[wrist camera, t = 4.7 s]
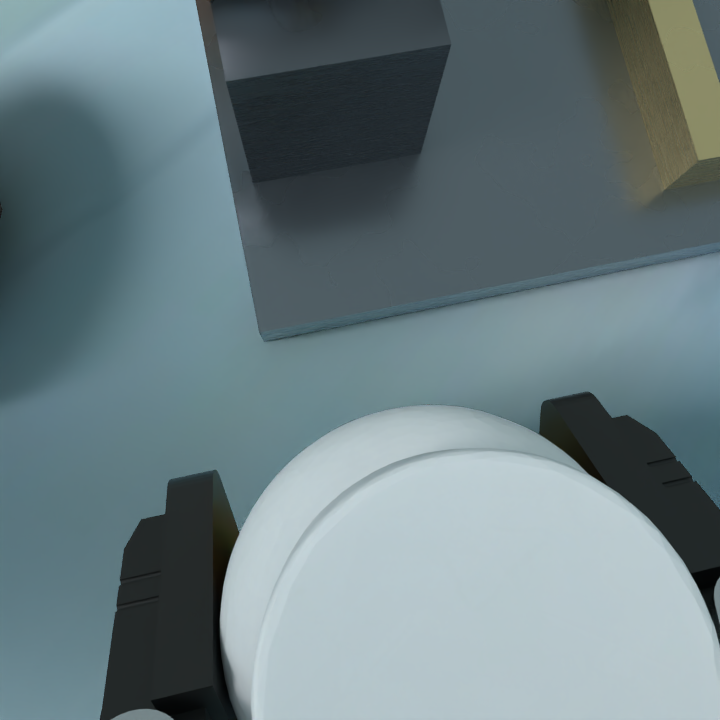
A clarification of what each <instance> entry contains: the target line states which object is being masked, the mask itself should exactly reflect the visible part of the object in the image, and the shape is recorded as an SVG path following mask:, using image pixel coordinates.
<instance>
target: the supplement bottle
mask: <svg viewBox="0 0 720 720" xmlns="http://www.w3.org/2000/svg"><path fill="white" fill-rule="evenodd" d="M220 648H221V658H222V665H223V671H224V677H225V682H226V686H227V690H228V694H229V698H230V701H231V704H232V706H233V709H234V712H235V714H236V717H237V720H720V645H719V641H718V637H717V633H716V630H715V626H714V624H713V621H712V619H711V616H710V614H709V611H708V609H707V606H706V604H705V601H704V599H703V597H702V595H701V593H700V591H699V589H698V587H697V585H696V583H695V581H694V579H693V578H692V576H691V574H690V572H689V570H688V569H687V567H686V565H685V563H684V562H683V560H682V559H681V558H680V556H679V555H678V554H677V552H676V551H675V550H674V548H673V547H672V546H671V545H670V543H669V542H668V541H667V539H666V538H665V537H664V535H663V534H662V533H661V532H660V531H659V530H658V528H657V527H656V526H655V525H654V524H653V523H652V522H651V521H650V520H649V519H648V518H647V517H646V516H645V515H644V514H643V513H642V512H641V511H640V510H638V509H637V508H636V507H635V506H634V505H632V504H631V503H630V502H629V501H628V500H626V499H625V498H624V497H623V496H621V495H620V494H619V493H618V492H616V491H614V490H613V489H611V488H610V487H608V486H607V485H605V484H603V483H602V482H600V481H599V480H597V479H595V478H594V477H592V476H591V475H589V474H588V473H587V472H586V471H585V470H584V469H583V468H582V467H581V466H580V465H579V464H578V463H577V462H576V461H575V460H573V459H572V458H571V457H570V456H569V455H567V454H566V453H565V452H564V451H563V450H561V449H560V448H558V447H557V446H556V445H554V444H553V443H551V442H550V441H548V440H547V439H545V438H544V437H542V436H541V435H539V434H537V433H536V432H534V431H532V430H530V429H528V428H526V427H524V426H522V425H519V424H517V423H515V422H512V421H510V420H507V419H504V418H501V417H499V416H496V415H493V414H490V413H487V412H484V411H480V410H475V409H471V408H466V407H460V406H449V405H414V406H406V407H399V408H393V409H387V410H383V411H380V412H376V413H372V414H369V415H366V416H363V417H360V418H358V419H355V420H353V421H351V422H348V423H346V424H344V425H342V426H340V427H338V428H336V429H334V430H332V431H330V432H329V433H327V434H326V435H324V436H322V437H321V438H320V439H318V440H317V441H315V442H314V443H312V444H311V445H309V446H308V447H306V448H305V449H304V450H303V451H302V452H300V453H299V454H298V455H297V456H295V457H294V458H293V459H292V460H291V461H290V462H289V463H288V464H287V465H286V466H285V467H284V468H283V469H282V470H281V471H280V472H279V473H278V474H277V475H276V476H275V478H274V479H273V480H272V481H271V482H270V484H269V485H268V486H267V487H266V489H265V490H264V492H263V493H262V495H261V496H260V497H259V499H258V500H257V502H256V503H255V505H254V506H253V508H252V510H251V512H250V513H249V515H248V517H247V519H246V521H245V523H244V525H243V527H242V529H241V531H240V533H239V536H238V538H237V541H236V543H235V546H234V548H233V551H232V554H231V557H230V560H229V564H228V568H227V572H226V576H225V580H224V585H223V593H222V601H221V612H220Z"/></svg>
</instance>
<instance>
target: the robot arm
mask: <svg viewBox="0 0 720 720" xmlns="http://www.w3.org/2000/svg"><path fill="white" fill-rule="evenodd" d="M539 435H541V436H542V437H544V438H545V439H547V440H548V441H550V442H551V443H553V444H554V445H556V446H557V447H558V448H560V449H561V450H563V451H564V452H565V453H566V454H567V455H569V456H570V457H571V458H572V459H573V460H575V461H576V462H577V463H578V464H579V465H580V466H581V467H582V468H583V469H584V470H585V471H586V472H587V473H588V474H589V475H591V476H592V477H594V478H595V479H597V480H599V481H600V482H602V483H603V484H605V485H607V486H608V487H610V488H611V489H613V490H614V491H616V492H618V493H619V494H620V495H621V496H623V497H624V498H625V499H626V500H628V501H629V502H630V503H631V504H632V505H634V506H635V507H636V508H637V509H638V510H640V511H641V512H642V513H643V514H644V515H645V516H646V517H647V518H648V519H649V520H650V521H651V522H652V523H653V524H654V525H655V526H656V527H657V528H658V530H659V531H660V532H661V533H662V534H663V535H664V537H665V538H666V539H667V541H668V542H669V543H670V545H671V546H672V547H673V548H674V550H675V551H676V552H677V554H678V555H679V556H680V558H681V559H682V560H683V562H684V563H685V565H686V567H687V569H688V570H689V572H690V574H691V576H692V578H693V579H694V581H695V583H696V585H697V587H698V589H699V591H700V593H701V595H702V597H703V599H704V601H705V604H706V606H707V609H708V611H709V614H710V616H711V619H712V621H713V624H714V626H715V630H716V633H717V637H718V641H719V645H720V509H719V508H718V507H717V506H716V505H715V503H714V502H713V501H712V500H711V499H710V497H709V496H708V495H707V494H706V493H705V491H704V490H703V489H702V488H701V487H700V485H699V484H698V483H697V482H696V481H693V480H692V476H691V475H690V473H689V472H688V471H687V470H686V469H685V467H684V466H683V465H682V464H681V463H680V461H678V462H677V461H676V458H675V455H674V454H673V453H672V452H671V451H670V449H669V448H668V447H667V446H666V445H665V443H664V442H663V441H662V440H661V438H660V437H659V436H658V435H657V434H656V433H655V432H654V431H652V430H650V429H649V428H647V427H645V426H644V425H642V424H641V423H639V422H637V421H636V420H634V419H633V418H631V417H629V416H628V415H625V416H620V417H616V418H611V416H610V415H609V414H608V413H607V411H606V410H605V409H604V407H603V406H602V405H601V403H600V402H599V401H598V400H597V398H596V397H595V396H594V395H593V394H592V393H590V392H583V393H578V394H573V395H569V396H564V397H559V398H555V399H550V400H546V401H544V402H543V403H542V406H541V414H540V432H539ZM238 536H239V531H238V528H237V525H236V522H235V519H234V516H233V514H232V511H231V508H230V505H229V502H228V499H227V496H226V493H225V490H224V487H223V485H222V482H221V479H220V476H219V474H218V472H217V471H216V470H212V471H207V472H203V473H198V474H193V475H189V476H184V477H179V478H175V479H171V480H169V482H168V487H167V499H166V512H165V514H164V515H160V516H155V517H150V518H146V519H141V521H140V523H139V524H138V526H137V528H136V529H135V531H134V533H133V535H132V536H131V538H130V540H129V541H128V543H127V545H126V547H125V548H124V554H123V561H122V568H121V576H120V581H121V585H120V586H119V590H118V597H117V612H115V619H114V626H113V633H112V641H111V648H110V655H109V662H108V670H107V677H106V684H105V691H104V698H103V706H102V711H101V716H100V720H237V717H236V714H235V712H234V709H233V706H232V704H231V701H230V698H229V694H228V690H227V686H226V682H225V677H224V671H223V665H222V658H221V648H220V612H221V601H222V593H223V585H224V580H225V576H226V572H227V568H228V564H229V560H230V557H231V554H232V551H233V548H234V546H235V543H236V541H237V538H238Z"/></svg>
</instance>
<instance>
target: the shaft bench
mask: <svg viewBox="0 0 720 720" xmlns="http://www.w3.org/2000/svg"><path fill="white" fill-rule="evenodd" d="M196 5H197V10H198V15H199V21H200V26H201V31H202V36H203V41H204V47H205V52H206V57H207V62H208V67H209V73H210V78H211V83H212V88H213V93H214V99H215V104H216V109H217V114H218V119H219V125H220V130H221V135H222V140H223V145H224V151H225V156H226V161H227V166H228V171H229V177H230V182H231V187H232V192H233V197H234V203H235V208H236V213H237V218H238V223H239V229H240V234H241V239H242V244H243V249H244V255H245V260H246V265H247V270H248V275H249V281H250V286H251V291H252V296H253V302H254V307H255V312H256V317H257V322H258V328H259V333H260V335H261V337H262V339H263V341H264V342H265V341H270V340H275V339H280V338H285V337H290V336H295V335H300V334H305V333H310V332H315V331H320V330H325V329H330V328H335V327H341V326H346V325H351V324H356V323H361V322H366V321H371V320H376V319H381V318H386V317H391V316H396V315H401V314H406V313H411V312H416V311H421V310H426V309H431V308H436V307H441V306H446V305H451V304H456V303H461V302H467V301H472V300H477V299H482V298H487V297H492V296H497V295H502V294H507V293H512V292H517V291H522V290H527V289H532V288H537V287H542V286H547V285H552V284H557V283H562V282H567V281H572V280H577V279H582V278H587V277H592V276H598V275H603V274H608V273H613V272H618V271H623V270H628V269H633V268H638V267H643V266H648V265H653V264H658V263H663V262H668V261H673V260H678V259H683V258H688V257H693V256H698V255H703V254H708V253H713V252H718V251H720V0H196Z"/></svg>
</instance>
